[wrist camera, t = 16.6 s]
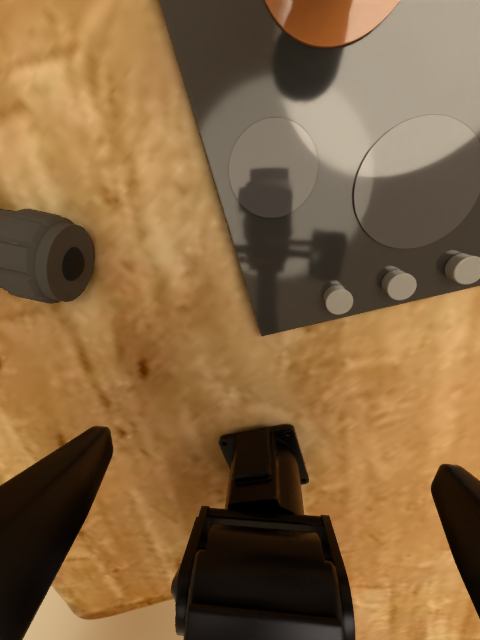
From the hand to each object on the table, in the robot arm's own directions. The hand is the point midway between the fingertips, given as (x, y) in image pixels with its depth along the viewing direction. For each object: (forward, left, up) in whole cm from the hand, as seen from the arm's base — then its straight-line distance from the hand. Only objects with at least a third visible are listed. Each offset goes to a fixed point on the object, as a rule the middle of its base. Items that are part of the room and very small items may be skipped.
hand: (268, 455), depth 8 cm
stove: (+8, -6, -13) cm, 17 cm away
